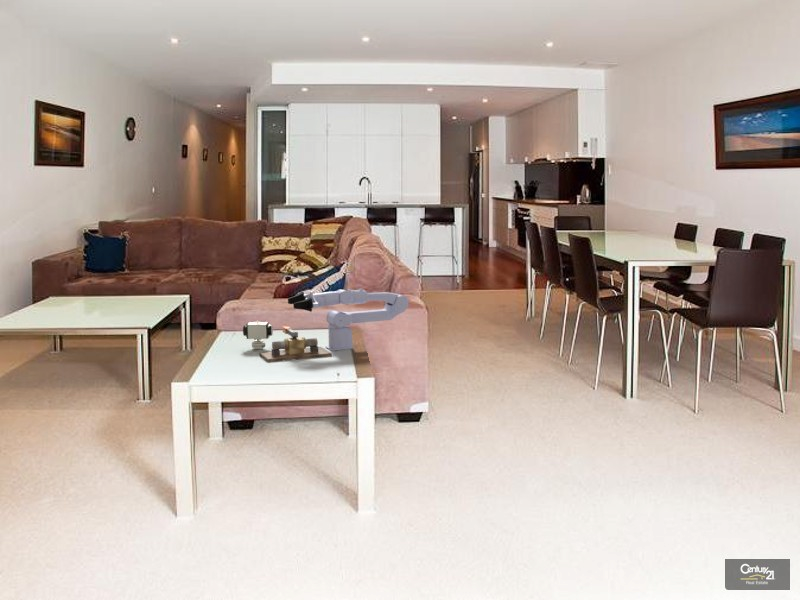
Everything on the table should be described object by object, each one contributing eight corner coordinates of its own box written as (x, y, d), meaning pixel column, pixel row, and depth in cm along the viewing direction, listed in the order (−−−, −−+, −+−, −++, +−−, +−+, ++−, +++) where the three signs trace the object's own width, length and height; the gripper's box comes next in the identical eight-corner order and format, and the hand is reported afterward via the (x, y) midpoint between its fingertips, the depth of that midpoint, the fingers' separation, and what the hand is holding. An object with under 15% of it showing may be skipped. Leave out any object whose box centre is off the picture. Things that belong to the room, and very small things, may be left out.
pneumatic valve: (271, 349, 334) (270, 321, 332) (243, 350, 334) (242, 321, 332) (273, 347, 339) (272, 319, 337) (246, 347, 339) (245, 319, 337)
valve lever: (298, 337, 320) (298, 332, 320) (292, 338, 319) (292, 332, 319) (288, 331, 334) (288, 326, 334) (282, 331, 333) (282, 326, 333)
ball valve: (320, 349, 334) (320, 332, 333) (331, 356, 321) (331, 337, 320) (259, 355, 323) (258, 337, 322) (267, 362, 311) (267, 343, 310)
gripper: (316, 285, 335) (285, 289, 330) (328, 294, 323) (295, 298, 317) (317, 302, 337) (286, 306, 332) (328, 311, 325) (296, 315, 319)
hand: (290, 303), depth 325 cm, fingers open, 7 cm apart
